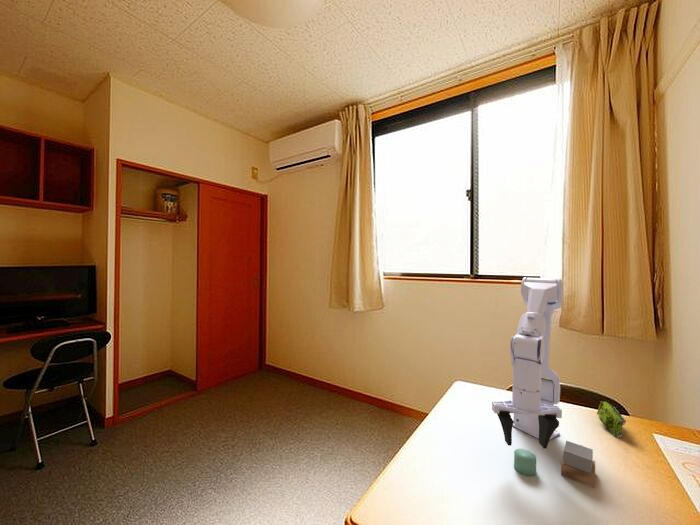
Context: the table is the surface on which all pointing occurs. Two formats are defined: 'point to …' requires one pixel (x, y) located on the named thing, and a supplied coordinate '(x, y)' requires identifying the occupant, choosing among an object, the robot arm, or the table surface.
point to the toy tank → (611, 418)
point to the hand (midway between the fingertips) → (525, 444)
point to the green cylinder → (525, 462)
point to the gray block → (578, 456)
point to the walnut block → (579, 474)
